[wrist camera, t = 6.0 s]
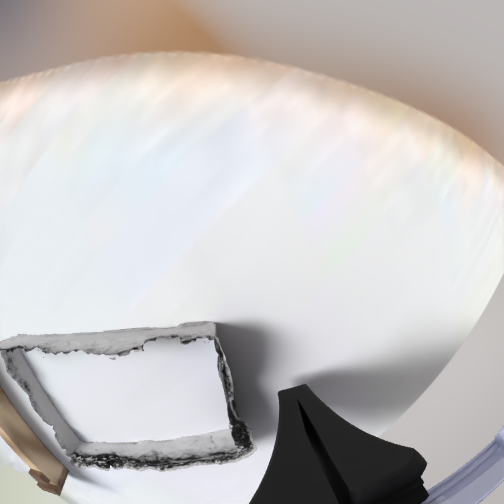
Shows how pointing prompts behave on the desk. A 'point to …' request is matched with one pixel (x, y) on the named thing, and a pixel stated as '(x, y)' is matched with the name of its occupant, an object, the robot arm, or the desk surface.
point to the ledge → (30, 449)
